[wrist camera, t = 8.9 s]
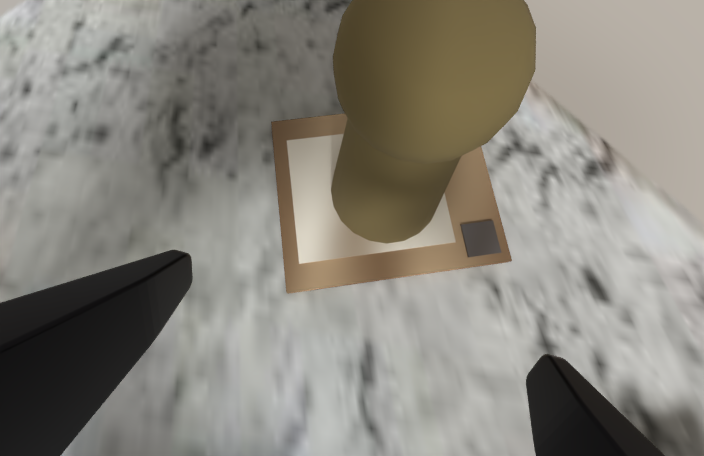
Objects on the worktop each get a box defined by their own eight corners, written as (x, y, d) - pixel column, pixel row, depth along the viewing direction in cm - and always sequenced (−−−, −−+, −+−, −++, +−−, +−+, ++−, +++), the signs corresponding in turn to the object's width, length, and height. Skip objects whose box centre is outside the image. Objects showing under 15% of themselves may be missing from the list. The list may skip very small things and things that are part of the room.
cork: (331, 140, 18) (315, -97, 8) (435, 141, 18) (562, -89, 8) (329, 243, 17) (306, 128, 6) (443, 243, 17) (613, 132, 6)
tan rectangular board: (288, 293, 17) (286, 292, 16) (273, 126, 19) (270, 120, 18) (507, 262, 17) (513, 260, 17) (465, 104, 20) (469, 98, 19)
